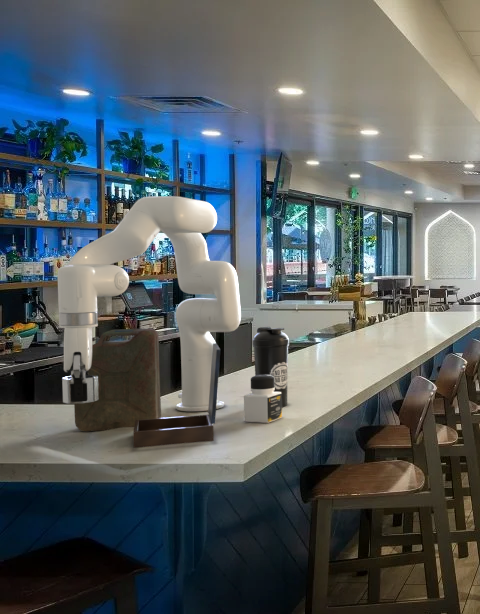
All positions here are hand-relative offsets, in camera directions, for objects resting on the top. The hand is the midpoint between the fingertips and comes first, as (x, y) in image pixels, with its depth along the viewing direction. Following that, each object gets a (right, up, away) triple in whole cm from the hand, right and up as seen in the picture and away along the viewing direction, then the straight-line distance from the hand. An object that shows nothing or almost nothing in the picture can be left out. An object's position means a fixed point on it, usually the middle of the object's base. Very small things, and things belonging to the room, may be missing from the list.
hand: (80, 397), depth 179 cm
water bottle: (+26, -8, +52) cm, 59 cm away
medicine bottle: (+30, -10, +32) cm, 45 cm away
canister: (-3, -10, +22) cm, 25 cm away
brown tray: (+17, -11, +8) cm, 22 cm away
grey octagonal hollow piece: (0, -1, 0) cm, 1 cm away
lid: (+25, +3, +11) cm, 28 cm away
